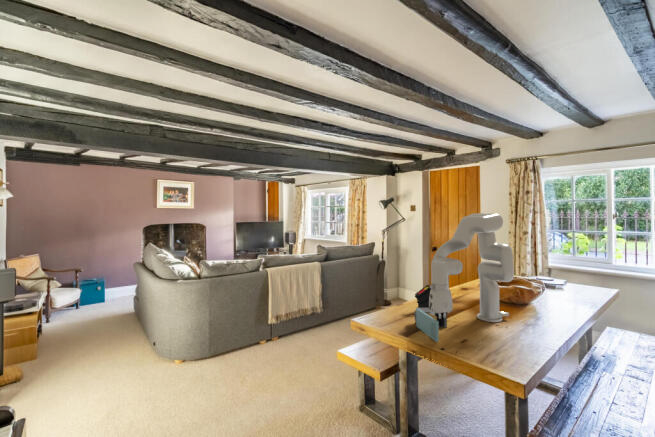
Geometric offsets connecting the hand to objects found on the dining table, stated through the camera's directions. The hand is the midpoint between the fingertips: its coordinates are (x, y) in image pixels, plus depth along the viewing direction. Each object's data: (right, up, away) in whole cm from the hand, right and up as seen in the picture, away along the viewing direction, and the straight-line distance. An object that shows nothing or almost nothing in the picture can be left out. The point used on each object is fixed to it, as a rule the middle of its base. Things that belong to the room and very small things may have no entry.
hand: (440, 325), depth 142 cm
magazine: (+6, -6, +41) cm, 42 cm away
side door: (-5, -6, +7) cm, 11 cm away
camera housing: (+2, -6, +19) cm, 20 cm away
